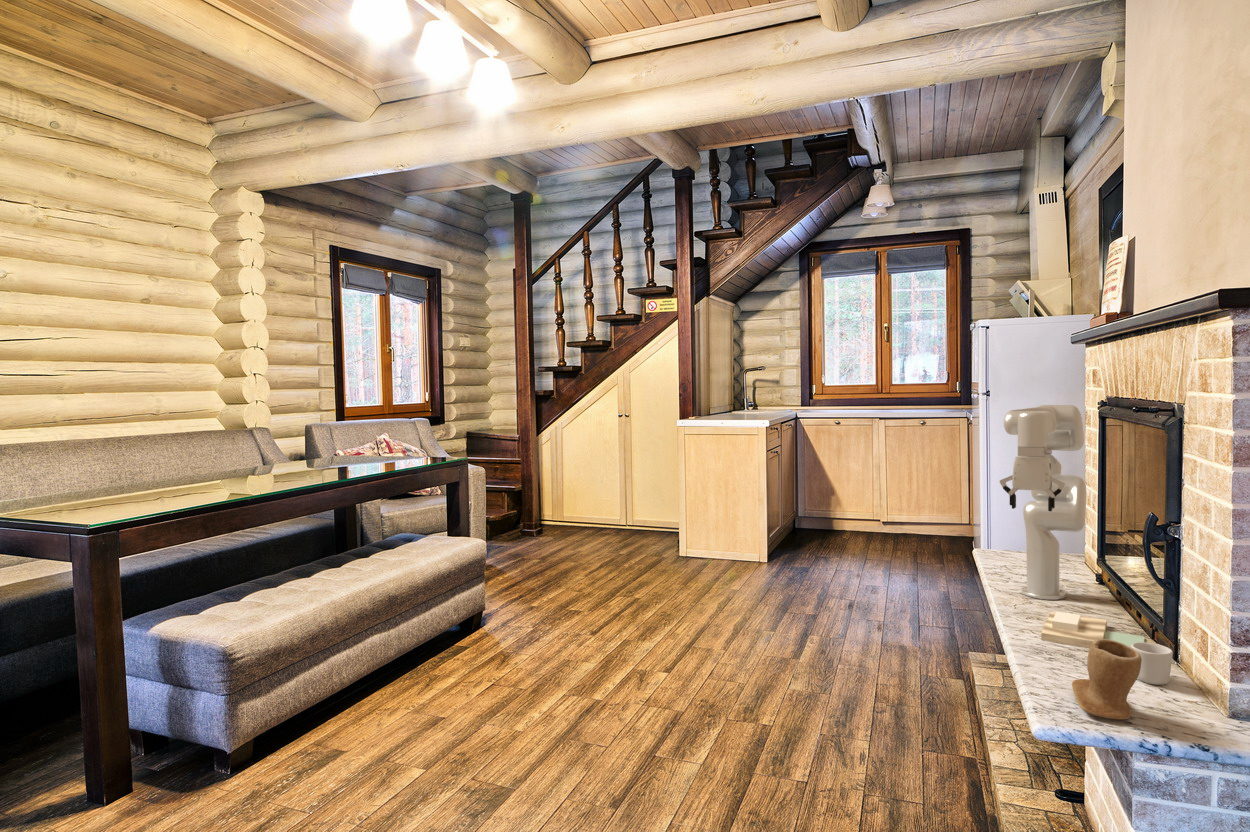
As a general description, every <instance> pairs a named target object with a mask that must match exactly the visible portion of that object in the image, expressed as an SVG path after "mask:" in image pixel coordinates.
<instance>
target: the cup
mask: <svg viewBox="0 0 1250 832" xmlns="http://www.w3.org/2000/svg"><path fill="white" fill-rule="evenodd" d="M1131 648H1133V649H1134V650H1136V651H1137V652H1138V653H1139V654H1140V656H1141V659H1142V662H1141V669H1140V673H1139V676H1138V678H1137V680H1139V681H1141V682H1143V683H1147V684H1149V685H1157V686H1161V685H1166V684H1168V682H1169V681H1170V677H1171V669H1172V664H1173V663H1172V662H1173V654H1174V652H1173V650H1172V649H1171V648H1170V647H1167V646H1165V645H1162V644H1158V643H1154V642H1145V641H1144V642H1137V643H1133V644H1132V645H1131Z"/></svg>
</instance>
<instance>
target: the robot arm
mask: <svg viewBox="0 0 1250 832" xmlns="http://www.w3.org/2000/svg"><path fill="white" fill-rule="evenodd" d="M1003 428H1004V430H1005V432H1006V433H1007V434H1008V435H1010V436H1017V456H1015V457H1014V460H1013V466H1012V467H1013V468H1012V475H1009V476H1007V477H1004V478H1002V479H1000V480H999V484H1000V485H1001V487H1002V489H1003V490H1004V491H1005V492H1006V493H1007V494H1008V496H1009V506H1011V509H1013V510H1014V509H1016V508H1017V495H1016V492H1017V491H1018V490H1020V491H1030V494H1031V496H1032V498H1033V499H1034V500H1031V501H1028V502H1027V503H1026V504H1024V505H1023V508H1022V509H1023V511H1022V512H1023V513H1022V515H1023V521H1024V526H1025V535H1026V540H1025V541H1026V543H1025V544H1026V586H1024V587H1022V588H1020V589H1021V591H1020V592H1021V593H1022V594H1023V595H1024V596H1027V597H1029V598H1032V599H1033V598H1034V599H1037V600H1038V599H1040V600H1047V601H1050V600H1051V601H1052V600H1053V601H1055V600H1056V601H1057V600H1062V599H1064V598H1065V597H1066V593H1065V591H1063V590H1061V589H1060V543H1059V540H1058V538H1057V537H1056V536H1055V535H1054V534H1053V533H1052V531H1053V532H1055V531H1058V532H1067V533H1069V532H1070V533H1071V532H1072V533H1073V532H1074V533H1077V532H1078V533H1079V532H1081V531H1082V530H1083V529H1084V527H1085V522H1086V510H1087V509H1086V508H1087V486H1086V482H1085V480H1084V479H1083V478H1082V477H1081V476H1077V475H1071V474H1070V475H1069V474H1068V475H1066V474H1062V464H1061V463H1060V461H1059V460H1058V459H1057V458H1056V457H1055V456H1054V455H1053V451H1058V452H1059V451H1060V452H1061V451H1063V452H1069V451H1070V452H1073V451H1074V452H1075V451H1079V450H1081V449H1082V448H1083V447H1084V442H1085V434H1084V426H1083V418H1082V414H1081V411H1080V409H1079V408H1078V407H1077V406H1075V405H1072V404H1042V405H1039V406H1038V405H1037V406H1035V407H1027V408H1017V409H1012V410H1008V412H1006V414H1005V415H1004V419H1003ZM1011 481H1012V483H1011V484H1012V487H1011V488H1010V486H1009V485H1008V484H1007V483H1008V482H1011Z"/></svg>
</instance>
